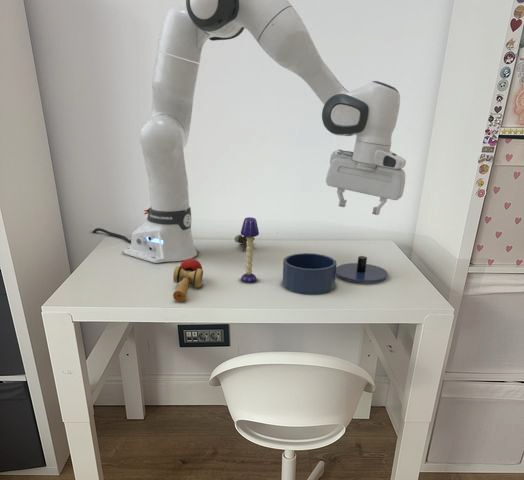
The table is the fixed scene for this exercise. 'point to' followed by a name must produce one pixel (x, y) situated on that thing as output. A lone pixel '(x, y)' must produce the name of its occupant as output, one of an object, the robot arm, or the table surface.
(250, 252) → the toy lamp
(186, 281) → the kendama
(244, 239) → the eagle figurine
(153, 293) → the table surface
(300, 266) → the pot
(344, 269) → the lid
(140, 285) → the table surface
